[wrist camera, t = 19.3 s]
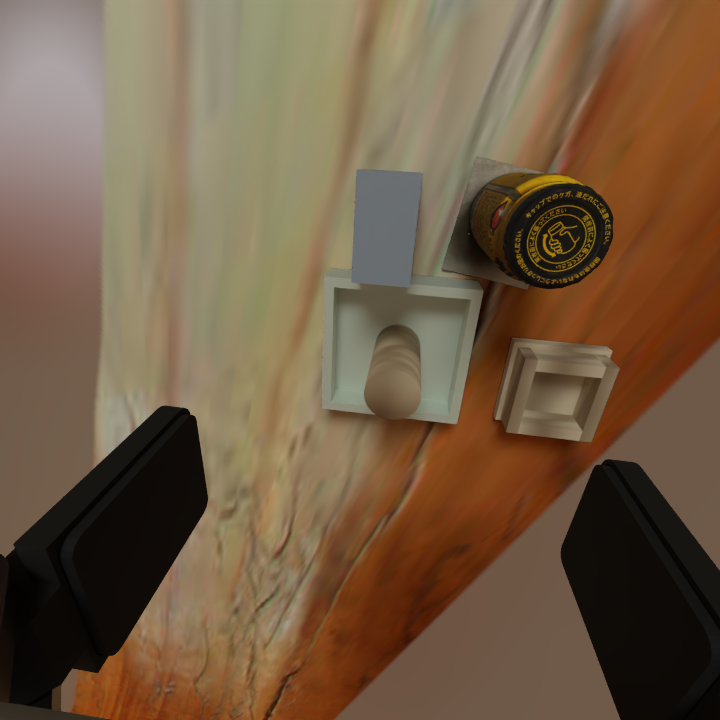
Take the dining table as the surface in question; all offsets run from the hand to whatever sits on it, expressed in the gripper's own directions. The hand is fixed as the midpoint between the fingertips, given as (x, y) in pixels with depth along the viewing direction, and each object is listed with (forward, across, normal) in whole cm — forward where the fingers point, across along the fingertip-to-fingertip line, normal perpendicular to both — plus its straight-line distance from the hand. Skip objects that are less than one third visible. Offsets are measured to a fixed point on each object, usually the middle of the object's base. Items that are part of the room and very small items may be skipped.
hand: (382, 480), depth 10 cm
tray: (+26, 0, +8) cm, 27 cm away
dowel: (+26, 0, +8) cm, 27 cm away
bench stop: (+26, +2, -3) cm, 27 cm away
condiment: (+27, -7, -3) cm, 28 cm away
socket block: (+26, -14, +10) cm, 31 cm away
